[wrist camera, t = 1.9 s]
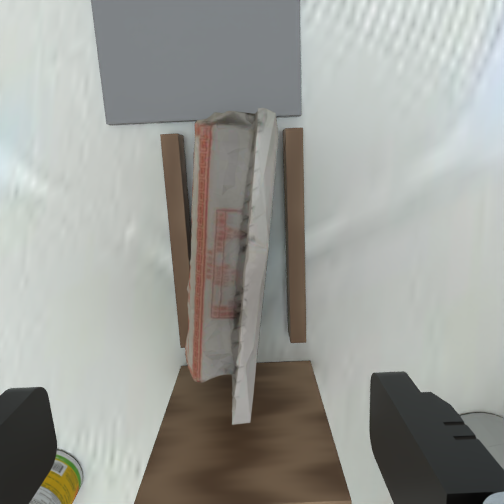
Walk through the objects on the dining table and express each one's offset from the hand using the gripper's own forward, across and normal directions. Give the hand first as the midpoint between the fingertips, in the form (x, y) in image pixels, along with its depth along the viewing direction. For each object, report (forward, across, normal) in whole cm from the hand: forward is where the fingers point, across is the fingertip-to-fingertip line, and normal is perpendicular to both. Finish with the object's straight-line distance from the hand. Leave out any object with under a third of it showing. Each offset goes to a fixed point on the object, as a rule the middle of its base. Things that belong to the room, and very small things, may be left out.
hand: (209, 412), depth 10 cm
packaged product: (+22, +1, 0) cm, 22 cm away
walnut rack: (+22, 0, 0) cm, 22 cm away
